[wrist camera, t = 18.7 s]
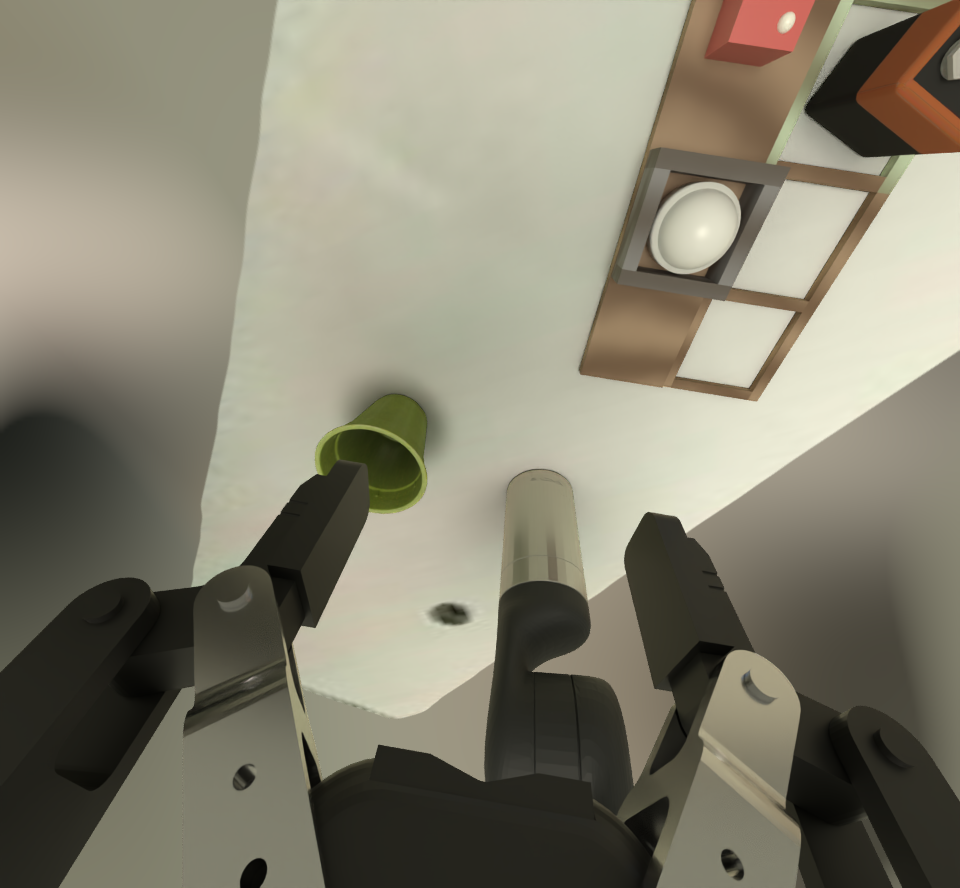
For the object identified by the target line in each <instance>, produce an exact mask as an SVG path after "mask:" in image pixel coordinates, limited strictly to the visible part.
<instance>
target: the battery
mask: <svg viewBox="0 0 960 888" xmlns="http://www.w3.org/2000/svg"><path fill="white" fill-rule="evenodd" d="M806 111H807V113H808V114H809V115H810V116H811V117H812V118H814V119H815V120H816V121H818V122H819V123H820V124H821V125H823V126H824V127H825V128H827V129H828V130H829V131H830V132H832V133H833V134H834V135H836V136H837V137H838V138H839V139H841V140H842V141H843V142H845V143H846V144H847V145H849V146H850V147H851V148H852V149H854V150H855V151H856V152H858V153H859V154H860V155H862V156H863V157H881V156H899V155H917V154H935V153H953V152H960V0H952V1H949V2H947V3H944V4H942V5H940V6H937V7H935V8H932V9H930V10H928V11H925V12H923V13H920V14H918V15H916V16H913V17H911V18H908V19H906V20H904V21H901V22H899V23H896V24H894V25H892V26H889V27H887V28H884V29H882V30H880V31H877V32H875V33H872V34H870V35H868V36H865V37H863V38H861V39H859V40H857V41H856V42H855V43H854V45H853V46H852V47H851V49H850V50H849V51H848V52H847V54H846V55H845V56H844V58H843V59H842V60H841V62H840V63H839V64H838V65H837V67H836V68H835V69H834V71H833V72H832V73H831V75H830V76H829V77H828V79H827V80H826V81H825V82H824V84H823V85H822V86H821V88H820V89H819V90H818V92H817V93H816V94H815V96H814V97H813V98H812V99H811V101H810V102H809V104H808V105H807V108H806Z"/></svg>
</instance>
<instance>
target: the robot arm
mask: <svg viewBox="0 0 960 888" xmlns="http://www.w3.org/2000/svg"><path fill="white" fill-rule="evenodd" d="M369 506H370V497H369V482H368V468H367V465H366V464H364V463H358V462H352V461H346V460H338V461H337V462H336V463H335V464H334V466H333V467H332V469H331V470H330V472H329V473H328V475H327V476H324V475H318V474H316V475H315V476H313V477H312V478H310V479H309V480H307V481H306V482H305V483H303V484H302V485H300V486H299V488H298V489H297V490H296V492H295V493H294V495H293V496H292V497H291V499H290V501H289V503H287V504H286V505H285V507H284V508H283V509H282V511H281V514H280V515H278V516H277V517H276V519H275V520H274V521H273V523H272V524H271V526H270V527H269V528H268V530H267V531H266V532H265V534H264V535H263V536H262V538H261V539H260V540H259V542H258V543H257V544H256V546H255V547H254V548H253V550H252V551H251V552H250V554H249V555H248V557H247V558H246V559H245V560H244V562H243V563H242V564H241V565H240V566H238V567H234V568H230V569H228V570H225V571H223V572H221V573H219V574H218V575H216V576H215V577H213V578H212V579H210V580H209V581H208V582H207V583H206V584H205V585H203V586H198V587H191V588H183V589H174V590H167V591H158V592H153V591H152V590H151V589H150V587H149V586H148V584H147V583H146V582H144V581H143V580H140V579H136V578H119V579H114V580H111V581H107V582H104V583H102V584H99V585H97V586H95V587H93V588H91V589H89V590H87V591H86V592H84V593H83V594H81V595H80V596H78V597H77V598H76V599H74V600H73V601H72V602H71V603H70V604H69V605H68V606H67V607H66V608H65V609H64V610H63V611H62V612H61V613H60V614H59V615H58V616H57V617H56V618H55V619H54V620H53V621H52V622H50V623H49V624H48V626H46V628H44V629H43V630H42V632H40V634H39V635H37V636H36V637H35V638H34V639H33V640H32V641H31V642H30V643H29V644H28V645H27V646H26V648H24V650H23V651H22V652H21V653H20V654H18V655H17V656H16V657H15V658H14V659H13V660H12V662H11V663H9V664H8V665H7V666H6V667H5V668H4V669H3V671H1V672H0V888H58V887H59V886H60V884H61V883H62V881H63V879H64V878H65V876H66V875H67V873H68V871H69V870H70V868H71V867H72V865H73V863H74V862H75V860H76V859H77V857H78V855H79V854H80V852H81V850H82V849H83V847H84V846H85V844H86V842H87V841H88V839H89V837H90V836H91V834H92V833H93V831H94V829H95V828H96V826H97V824H98V823H99V821H100V820H101V818H102V817H103V815H104V813H105V812H106V810H107V808H108V807H109V805H110V804H111V802H112V800H113V799H114V797H115V796H116V794H117V792H118V791H119V789H120V787H121V786H122V784H123V783H124V781H125V779H126V778H127V776H128V775H129V773H130V771H131V770H132V768H133V766H134V765H135V763H136V761H137V760H138V758H139V757H140V755H141V754H142V752H143V750H144V749H145V747H146V745H147V744H148V742H149V740H150V739H151V737H152V736H153V734H154V733H155V731H156V729H157V728H158V726H159V724H160V723H161V721H162V720H163V718H164V716H165V715H166V713H167V712H168V710H169V708H170V706H171V705H172V703H173V702H174V700H175V699H176V697H177V695H178V694H179V692H180V690H181V689H182V688H186V687H192V686H195V701H194V706H193V708H192V709H191V710H189V711H188V712H187V714H186V717H185V721H184V727H183V868H182V869H183V870H182V873H183V874H182V875H183V876H182V879H183V881H182V888H795V885H796V877H797V870H798V866H799V869H800V872H801V875H802V878H803V881H804V883H805V886H806V888H893V887H892V885H891V882H890V881H889V878H888V876H887V874H886V872H885V870H884V868H883V866H882V863H881V862H880V859H879V857H878V855H877V853H876V851H875V849H874V847H873V845H872V842H871V840H870V838H869V836H868V834H867V832H866V830H865V828H864V826H863V823H862V821H861V820H864V819H867V818H869V820H870V822H871V824H872V826H873V828H874V830H875V832H876V834H877V836H878V838H879V840H880V842H881V844H882V847H883V848H884V851H885V853H886V855H887V857H888V859H889V861H890V863H891V865H892V867H893V869H894V871H895V873H896V875H897V877H898V879H899V882H900V884H901V886H902V888H960V801H959V800H958V798H957V797H956V795H955V793H954V792H953V790H952V789H951V787H950V786H949V784H948V783H947V781H946V780H945V778H944V776H943V775H942V773H941V772H940V770H939V769H938V767H937V766H936V764H935V763H934V761H933V759H932V758H931V757H930V755H929V754H928V753H927V751H926V750H925V748H924V747H923V746H922V745H921V744H920V742H919V741H918V740H917V739H916V738H915V737H914V736H913V735H912V734H911V733H910V732H909V731H908V730H906V729H905V728H904V727H903V726H902V725H900V724H899V723H898V722H897V721H895V720H894V719H892V718H891V717H889V716H888V715H886V714H884V713H882V712H880V711H878V710H876V709H873V708H870V707H866V706H856V707H853V708H851V709H849V710H847V711H846V712H844V713H840V712H838V711H835V710H833V709H831V708H829V707H827V706H825V705H823V704H821V703H819V702H816V701H814V700H812V699H810V698H808V697H806V696H804V695H802V694H800V693H798V692H796V691H795V690H794V688H793V686H792V685H791V683H790V682H789V681H788V679H787V678H786V677H785V676H784V674H783V673H781V671H780V670H779V669H778V668H777V667H776V666H774V665H773V664H772V663H770V662H769V661H768V660H766V659H765V658H763V657H762V656H760V655H757V654H756V653H755V651H754V649H753V648H752V645H751V643H750V641H749V639H748V637H747V635H746V633H745V631H744V629H743V627H742V624H741V623H740V620H739V618H738V616H737V614H736V612H735V610H734V607H733V605H732V603H731V601H730V599H729V597H728V595H727V593H726V592H724V586H723V584H722V582H721V580H720V578H719V577H718V576H717V571H716V569H715V567H714V565H713V563H712V561H711V559H710V557H709V555H708V554H707V553H706V552H705V550H704V549H703V548H702V547H701V546H700V545H699V544H698V543H697V541H696V540H695V539H693V538H687V536H686V533H685V531H684V529H683V527H682V524H681V522H680V520H679V519H678V518H677V517H675V516H669V515H663V514H657V513H651V512H647V513H646V514H645V515H644V516H643V518H642V520H641V521H640V523H639V525H638V527H637V529H636V531H635V532H634V534H633V536H632V538H631V540H630V541H629V543H628V545H627V547H626V551H625V557H624V564H625V570H626V574H627V578H628V582H629V587H630V590H631V595H632V599H633V603H634V607H635V611H636V615H637V619H638V624H639V627H640V631H641V636H642V640H643V643H644V648H645V652H646V656H647V660H648V665H649V668H650V673H651V677H652V681H653V685H654V688H655V689H660V690H666V691H672V692H673V696H674V700H675V704H674V705H673V706H672V707H671V709H670V711H669V713H668V716H667V718H666V720H665V723H664V725H663V727H662V729H661V731H660V734H659V736H658V738H657V740H656V743H655V745H654V747H653V750H652V752H651V754H650V756H649V758H648V761H647V763H646V765H645V768H644V770H643V772H642V774H641V776H640V778H639V780H638V781H637V783H636V784H635V786H633V778H632V770H631V763H630V755H629V748H628V742H627V735H626V730H625V725H624V720H623V716H622V712H621V708H620V705H619V702H618V699H617V697H616V695H615V693H614V691H613V689H612V687H611V686H610V685H609V684H608V683H607V682H606V681H604V680H602V679H600V678H596V677H590V676H581V675H568V674H554V673H542V672H532V671H533V670H534V669H535V668H536V667H538V666H539V665H541V664H542V663H544V662H546V661H548V660H550V659H553V658H556V657H559V656H562V655H565V654H567V653H570V652H572V651H574V650H576V649H577V648H579V647H580V646H581V645H582V644H583V643H584V642H585V641H586V640H587V638H588V636H589V634H590V627H591V624H590V614H589V607H588V600H587V593H586V585H585V579H584V572H583V564H582V557H581V550H580V542H579V535H578V528H577V520H576V512H575V505H574V498H573V491H572V487H571V485H570V483H569V482H568V481H567V480H566V479H565V478H564V477H562V476H561V475H559V474H557V473H555V472H552V471H548V470H531V471H527V472H524V473H522V474H520V475H518V476H517V477H515V478H514V479H513V480H512V481H511V483H510V484H509V486H508V489H507V497H506V511H505V524H504V538H503V553H502V567H501V584H500V598H499V610H498V628H497V643H496V655H495V663H494V672H493V673H494V674H493V681H492V688H491V696H490V703H489V711H488V720H487V729H486V740H485V762H484V769H485V782H483V781H480V780H477V779H475V778H473V777H472V776H470V775H468V774H466V773H464V772H463V771H461V770H459V769H457V768H455V767H453V766H451V765H450V764H448V763H446V762H444V761H442V760H441V759H439V758H437V757H435V756H433V755H431V754H428V753H422V752H417V751H411V750H406V749H400V748H394V747H389V746H383V745H378V748H377V752H376V755H375V758H372V759H366V760H363V761H359V762H357V763H353V764H350V765H348V766H346V767H344V768H342V769H340V770H338V771H336V772H335V773H333V774H332V775H330V776H328V777H327V778H325V779H324V780H323V778H322V773H321V768H320V764H319V759H318V754H317V750H316V746H315V742H314V738H313V734H312V730H311V727H310V723H309V718H308V714H307V709H306V704H305V699H304V695H303V690H302V685H301V680H300V675H299V670H298V666H297V661H296V656H295V651H294V646H293V640H294V638H295V637H296V635H297V633H298V631H299V629H300V627H301V626H307V627H313V628H316V626H317V624H318V622H319V619H320V617H321V615H322V613H323V611H324V609H325V607H326V605H327V603H328V600H329V598H330V596H331V594H332V592H333V590H334V588H335V586H336V584H337V581H338V579H339V577H340V575H341V573H342V571H343V569H344V567H345V565H346V562H347V560H348V558H349V556H350V554H351V552H352V550H353V548H354V546H355V543H356V541H357V539H358V537H359V535H360V533H361V531H362V529H363V527H364V524H365V522H366V520H367V516H368V512H369Z"/></svg>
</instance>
